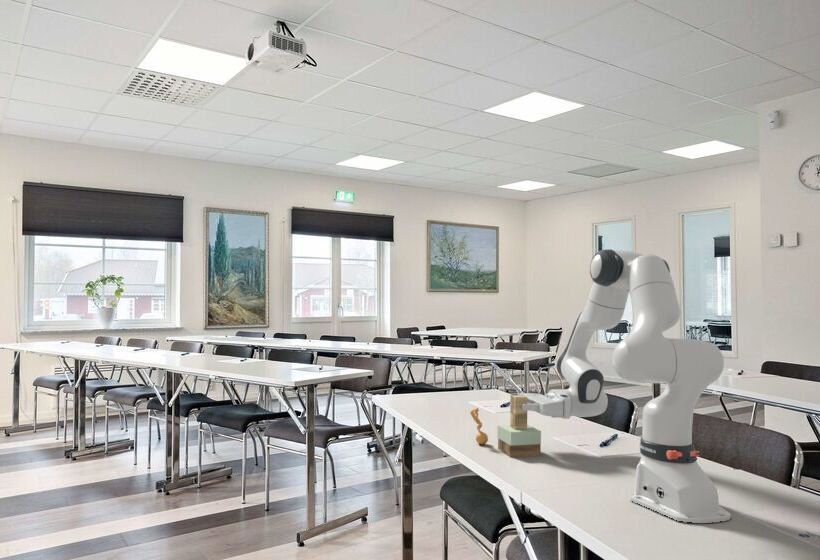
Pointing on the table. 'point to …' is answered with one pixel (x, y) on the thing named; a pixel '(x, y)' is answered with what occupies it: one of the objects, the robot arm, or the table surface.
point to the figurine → (481, 436)
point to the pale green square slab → (519, 435)
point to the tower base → (519, 449)
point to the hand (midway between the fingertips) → (516, 404)
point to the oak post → (518, 412)
